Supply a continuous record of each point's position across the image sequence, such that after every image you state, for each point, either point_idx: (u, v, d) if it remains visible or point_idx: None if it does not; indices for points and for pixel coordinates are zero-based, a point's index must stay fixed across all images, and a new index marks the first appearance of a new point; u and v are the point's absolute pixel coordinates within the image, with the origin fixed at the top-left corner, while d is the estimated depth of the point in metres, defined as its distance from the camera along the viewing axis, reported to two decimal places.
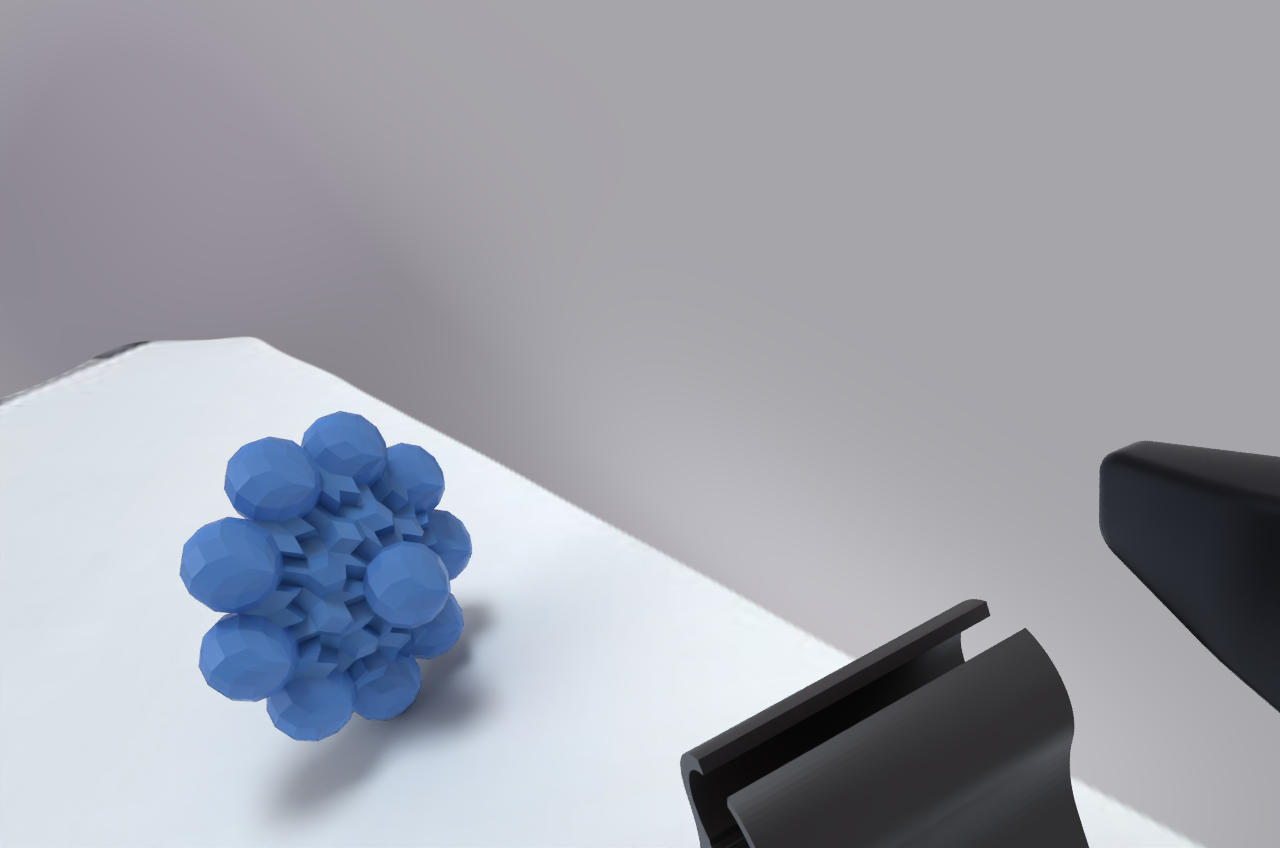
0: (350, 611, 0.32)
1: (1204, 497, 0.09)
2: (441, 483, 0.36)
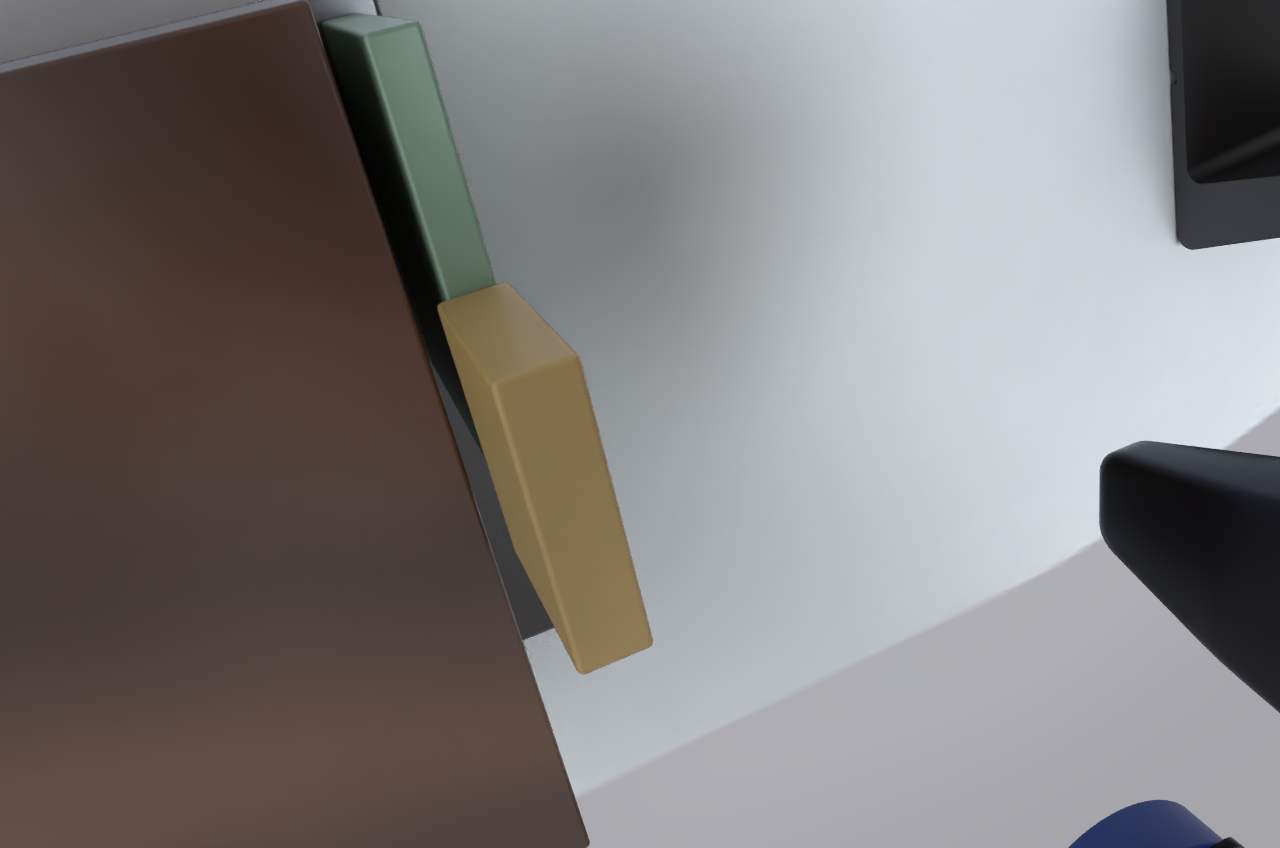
0: None
1: (1204, 497, 0.09)
2: None
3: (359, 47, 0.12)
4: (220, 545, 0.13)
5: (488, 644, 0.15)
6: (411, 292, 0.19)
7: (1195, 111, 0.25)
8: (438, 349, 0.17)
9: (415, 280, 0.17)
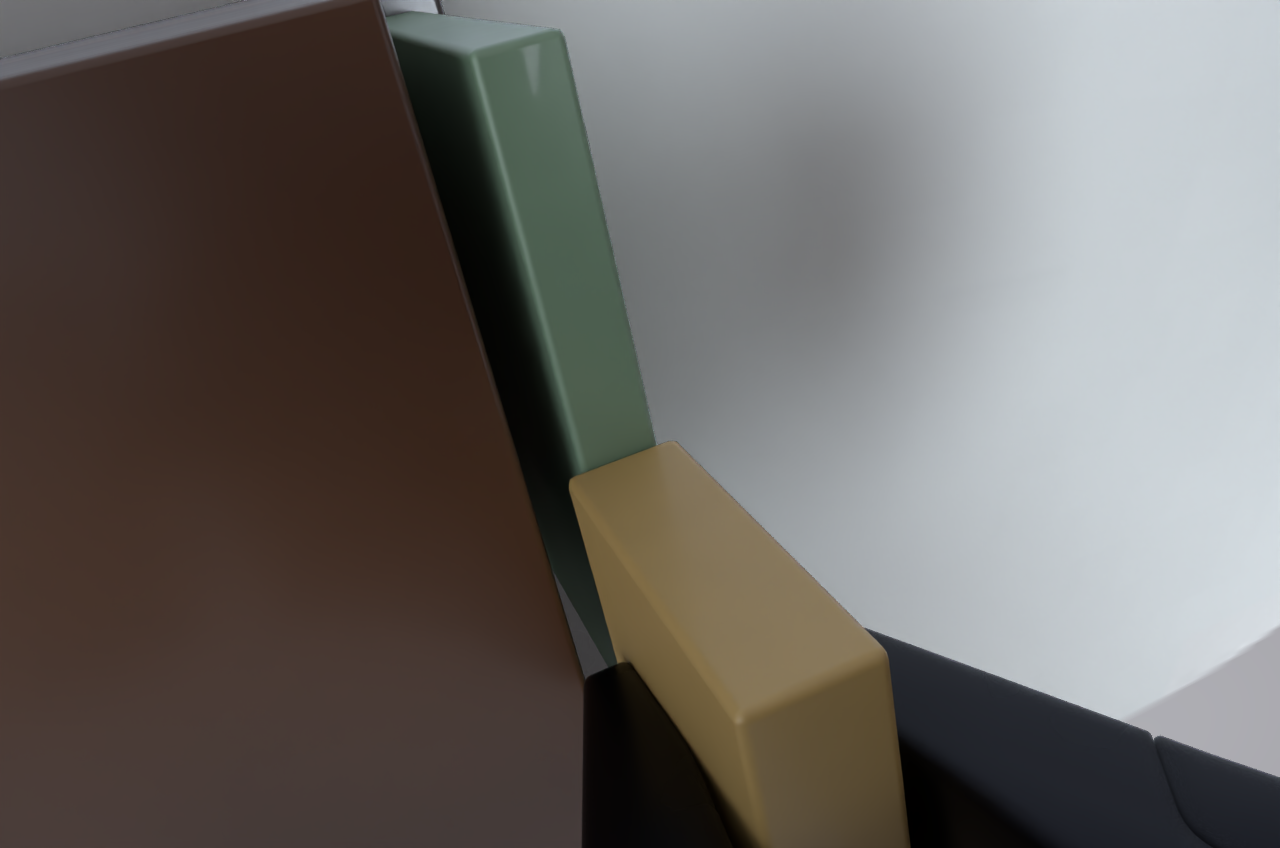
0: None
1: None
2: None
3: (452, 71, 0.08)
4: None
5: None
6: None
7: None
8: None
9: None
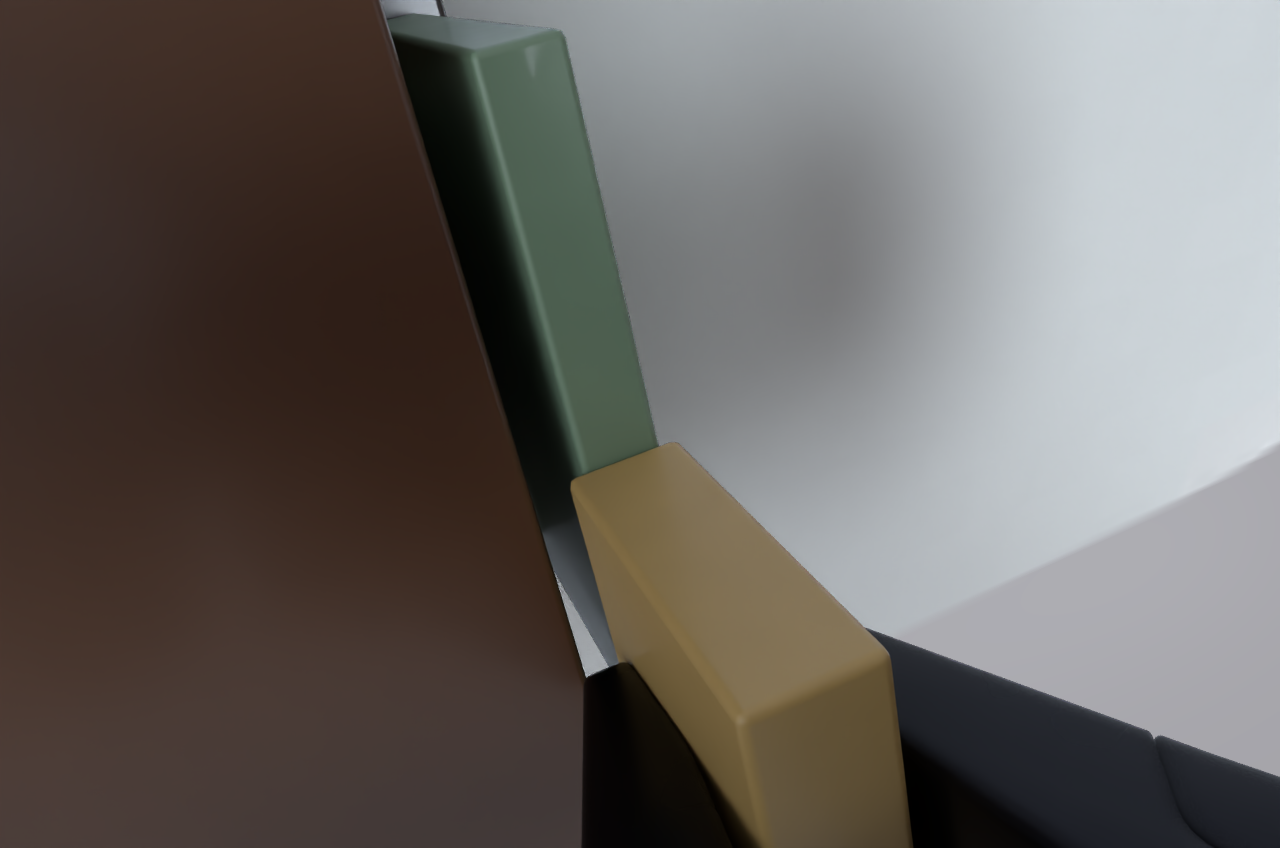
0: None
1: None
2: None
3: (453, 72, 0.07)
4: None
5: (451, 456, 0.08)
6: None
7: None
8: None
9: None
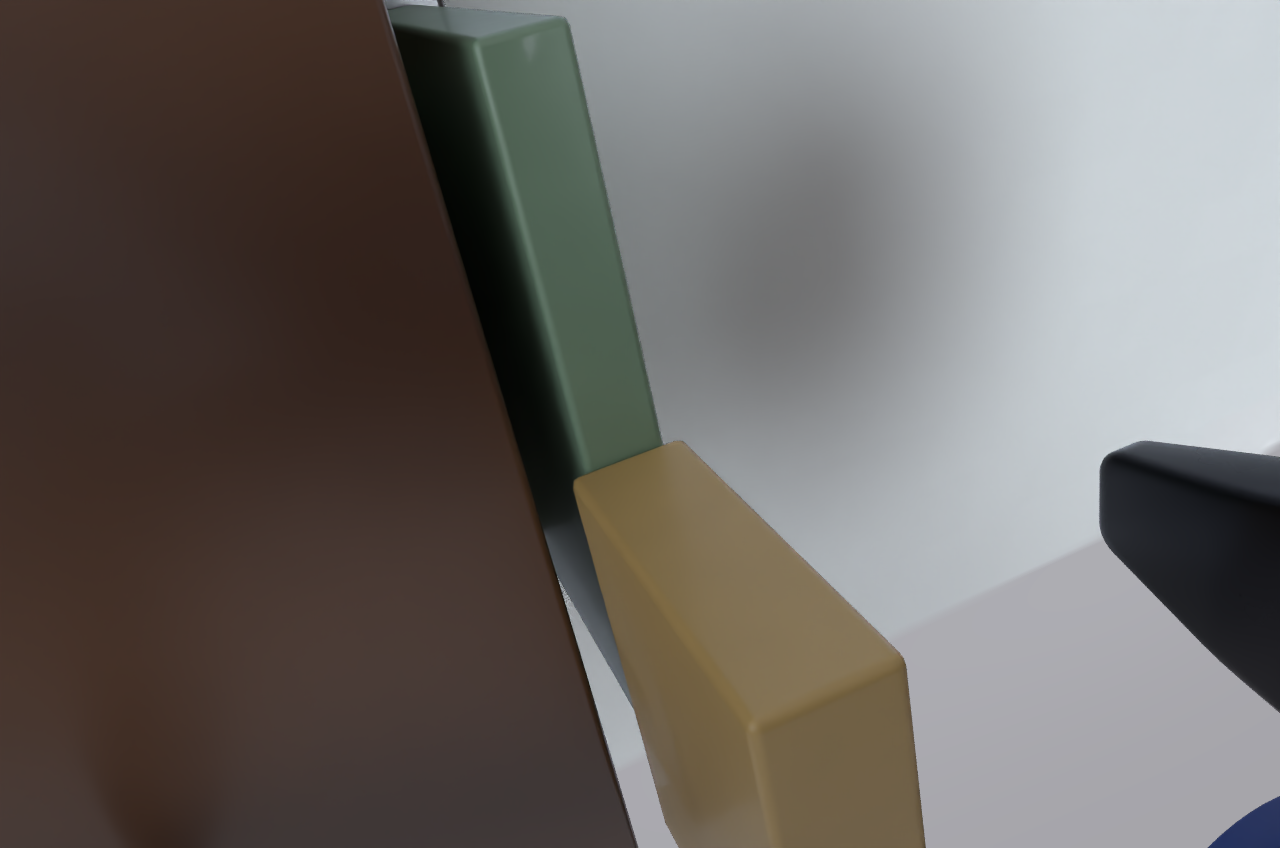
0: None
1: (1204, 497, 0.09)
2: None
3: (454, 61, 0.07)
4: None
5: (451, 454, 0.08)
6: None
7: None
8: None
9: None
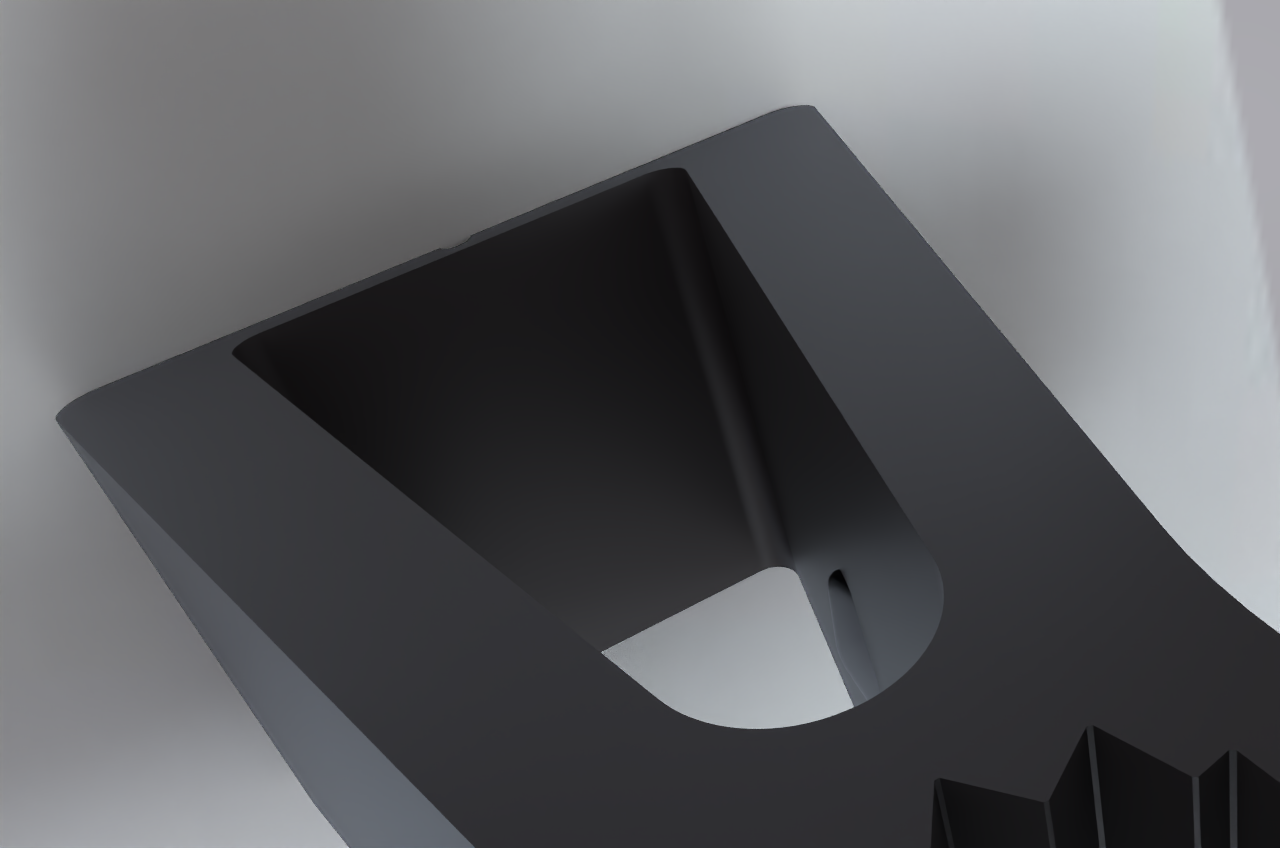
0: None
1: None
2: None
3: None
4: None
5: None
6: None
7: (673, 595, 0.14)
8: None
9: None
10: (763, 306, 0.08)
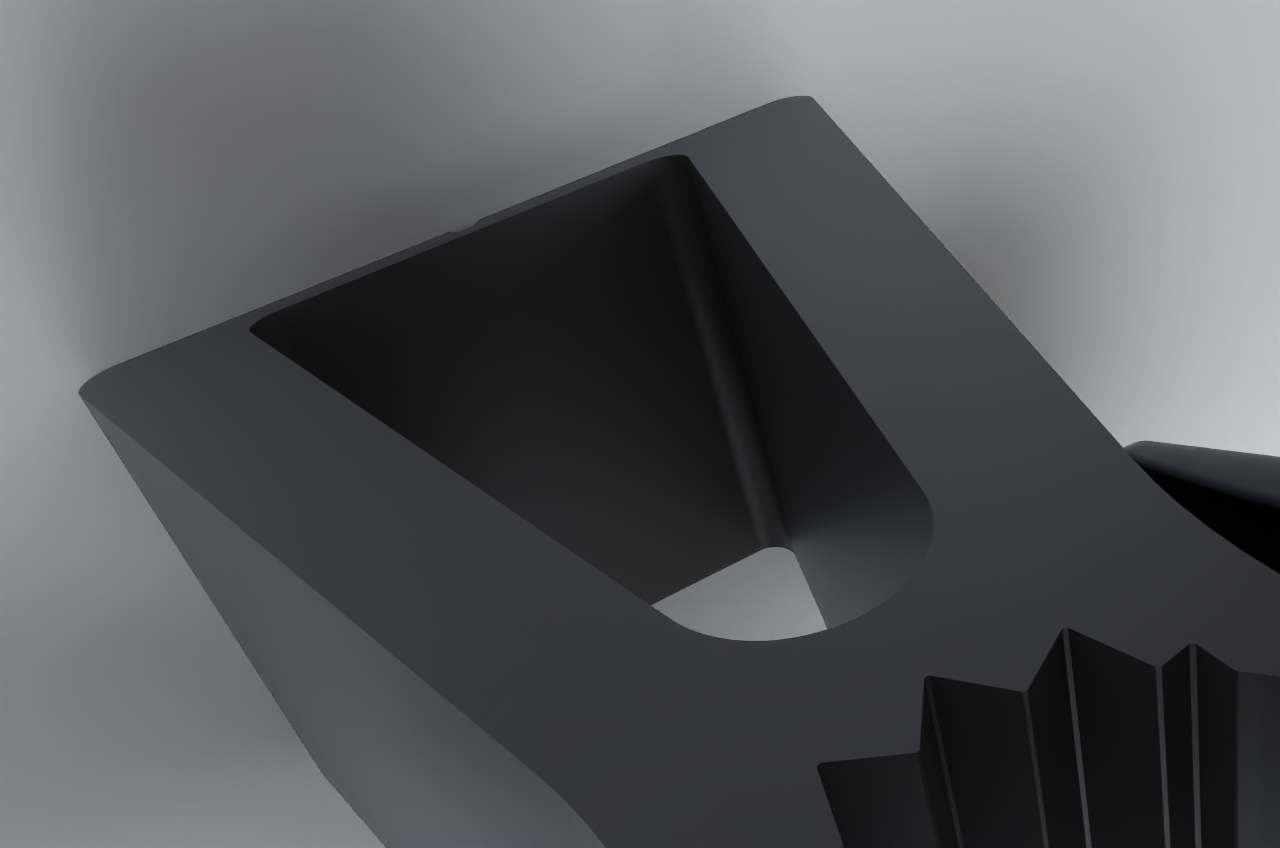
0: None
1: (1204, 497, 0.09)
2: None
3: None
4: None
5: None
6: None
7: (673, 574, 0.14)
8: None
9: None
10: (763, 280, 0.09)
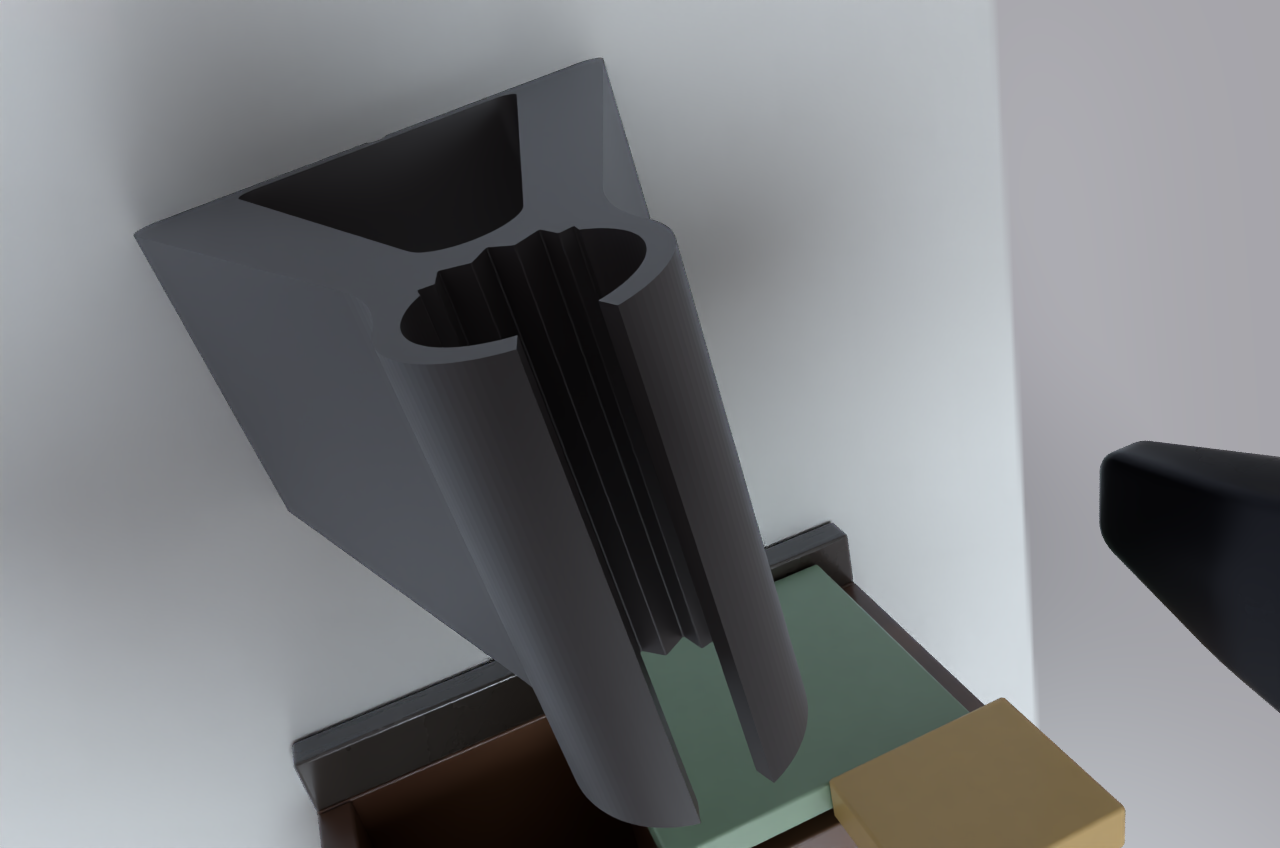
0: None
1: (1204, 497, 0.09)
2: None
3: None
4: None
5: None
6: None
7: None
8: None
9: None
10: None
